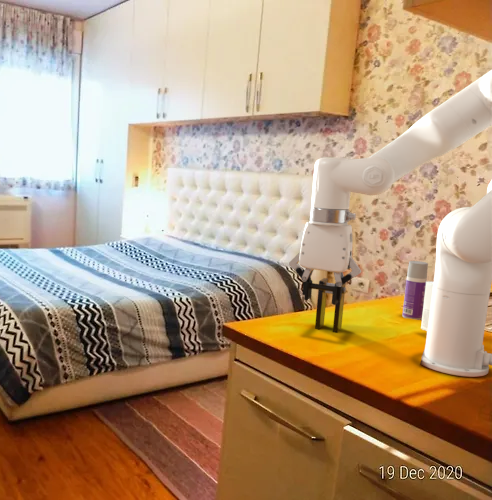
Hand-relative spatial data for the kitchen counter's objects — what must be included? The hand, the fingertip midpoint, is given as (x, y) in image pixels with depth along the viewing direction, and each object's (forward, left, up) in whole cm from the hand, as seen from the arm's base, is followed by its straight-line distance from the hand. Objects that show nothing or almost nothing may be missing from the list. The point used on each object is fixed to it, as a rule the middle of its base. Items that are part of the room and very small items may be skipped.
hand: (321, 300), depth 110 cm
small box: (-23, -25, -10) cm, 35 cm away
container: (-15, -40, -10) cm, 44 cm away
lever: (0, -5, +1) cm, 5 cm away
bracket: (0, -10, -10) cm, 14 cm away
